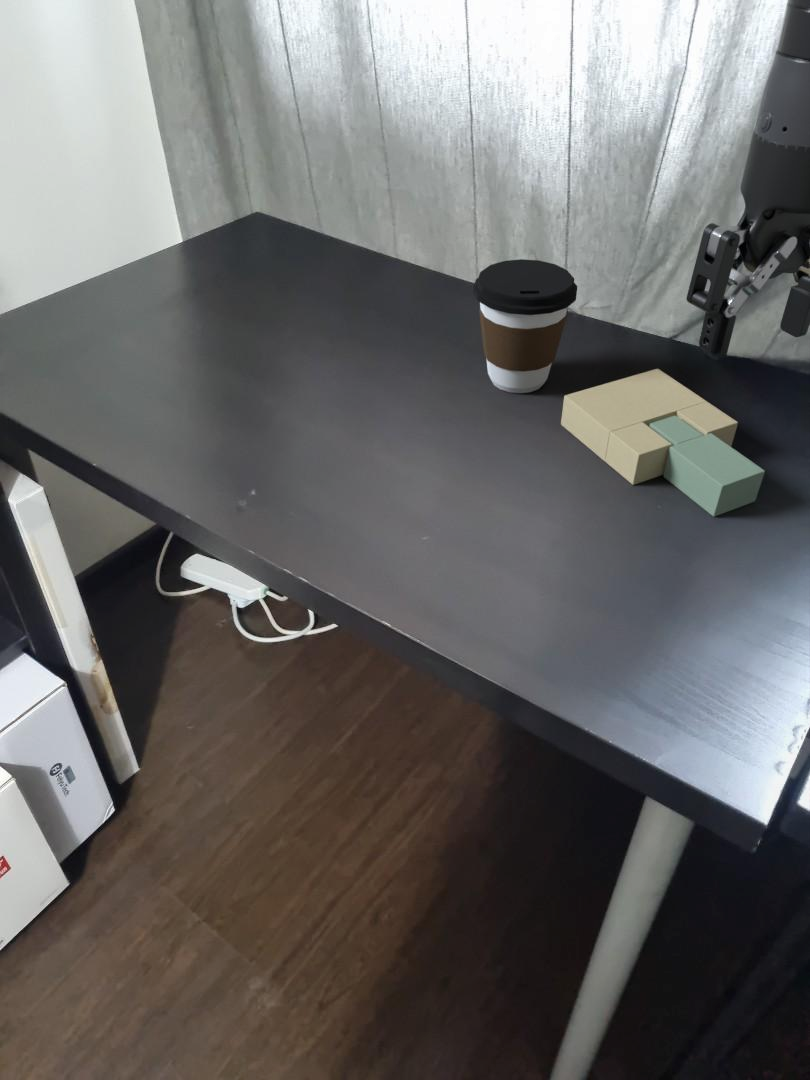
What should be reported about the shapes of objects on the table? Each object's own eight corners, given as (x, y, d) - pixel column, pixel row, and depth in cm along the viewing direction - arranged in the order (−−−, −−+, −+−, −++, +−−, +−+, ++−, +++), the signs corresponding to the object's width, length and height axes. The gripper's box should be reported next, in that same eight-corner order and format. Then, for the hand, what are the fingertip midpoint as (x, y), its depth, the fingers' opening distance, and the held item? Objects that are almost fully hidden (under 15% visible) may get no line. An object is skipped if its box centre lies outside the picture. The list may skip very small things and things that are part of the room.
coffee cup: (572, 404, 89) (587, 299, 82) (472, 405, 90) (476, 300, 82) (559, 356, 98) (571, 256, 90) (467, 356, 98) (470, 257, 90)
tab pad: (755, 501, 76) (765, 470, 74) (713, 517, 75) (722, 486, 72) (675, 442, 84) (682, 412, 81) (636, 455, 82) (642, 425, 80)
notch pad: (729, 452, 82) (738, 422, 80) (632, 485, 78) (639, 455, 76) (651, 396, 90) (657, 368, 88) (560, 424, 87) (564, 395, 84)
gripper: (774, 156, 52) (717, 385, 62) (931, 126, 57) (853, 343, 67) (693, 129, 57) (653, 344, 68) (843, 104, 62) (783, 309, 72)
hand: (753, 344), depth 67 cm, fingers open, 8 cm apart
